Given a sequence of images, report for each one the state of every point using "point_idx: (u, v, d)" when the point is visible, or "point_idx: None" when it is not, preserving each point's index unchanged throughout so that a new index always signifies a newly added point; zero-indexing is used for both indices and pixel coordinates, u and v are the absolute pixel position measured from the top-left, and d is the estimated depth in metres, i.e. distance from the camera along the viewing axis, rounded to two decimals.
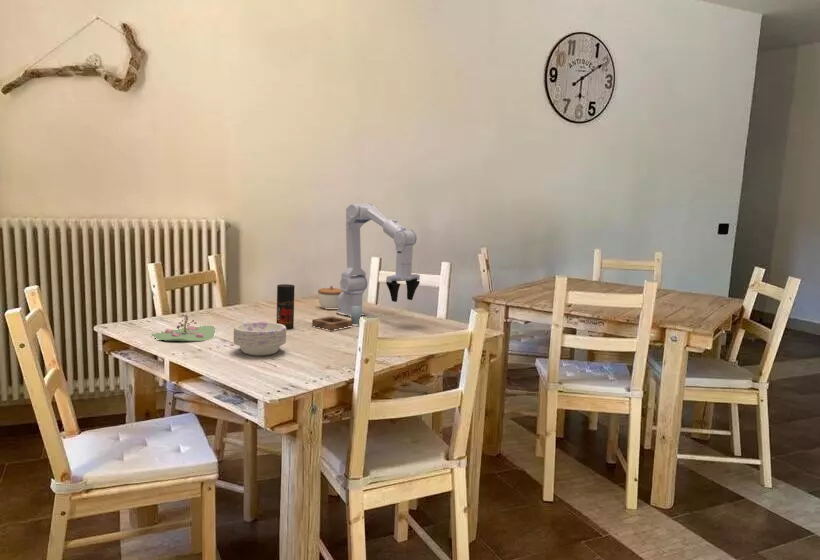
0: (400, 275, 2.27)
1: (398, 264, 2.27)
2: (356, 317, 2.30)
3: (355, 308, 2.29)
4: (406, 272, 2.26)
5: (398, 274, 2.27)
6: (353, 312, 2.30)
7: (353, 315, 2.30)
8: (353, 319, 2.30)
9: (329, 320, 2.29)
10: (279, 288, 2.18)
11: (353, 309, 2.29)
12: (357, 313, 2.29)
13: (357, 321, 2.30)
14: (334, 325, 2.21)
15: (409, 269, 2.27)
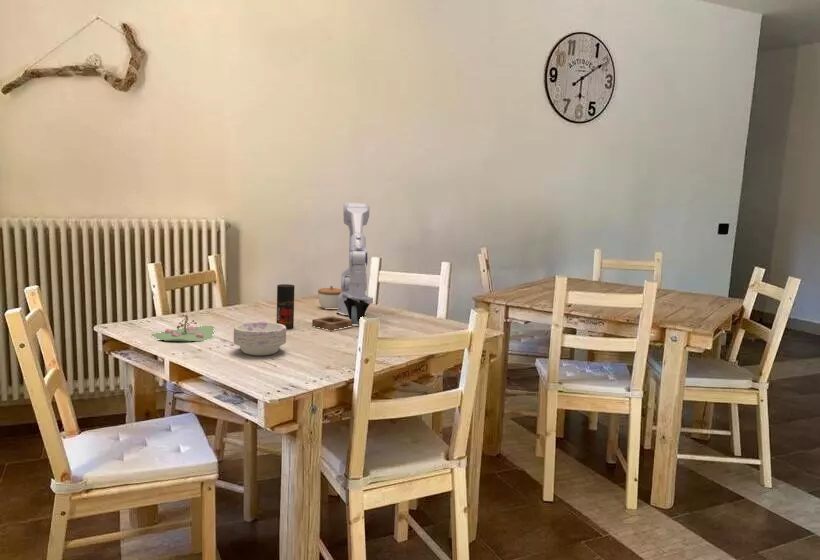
0: None
1: None
2: (356, 317, 2.30)
3: (355, 308, 2.29)
4: (350, 291, 2.28)
5: None
6: (353, 312, 2.30)
7: (353, 315, 2.30)
8: (353, 319, 2.30)
9: (329, 320, 2.29)
10: (279, 288, 2.18)
11: (353, 309, 2.29)
12: None
13: (357, 321, 2.30)
14: (334, 325, 2.21)
15: (352, 289, 2.28)
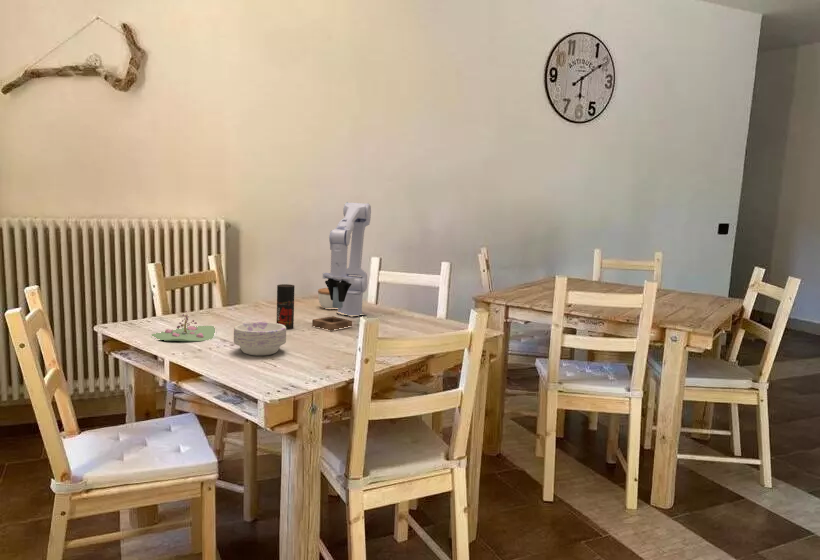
0: None
1: None
2: (338, 299, 2.25)
3: (336, 289, 2.24)
4: (331, 271, 2.23)
5: None
6: (334, 293, 2.25)
7: (334, 296, 2.25)
8: (334, 300, 2.25)
9: (329, 320, 2.29)
10: (279, 288, 2.18)
11: (334, 290, 2.24)
12: None
13: (338, 302, 2.25)
14: (334, 325, 2.21)
15: (333, 268, 2.22)
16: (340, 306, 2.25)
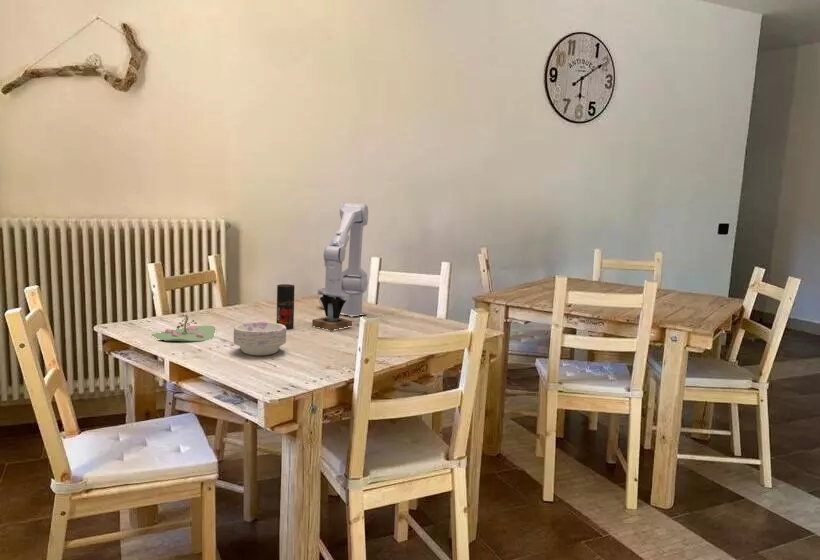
0: None
1: None
2: (332, 315, 2.25)
3: (331, 305, 2.24)
4: (326, 287, 2.23)
5: None
6: (329, 310, 2.25)
7: (329, 313, 2.25)
8: (329, 317, 2.25)
9: None
10: (279, 288, 2.18)
11: (329, 306, 2.24)
12: None
13: (333, 319, 2.25)
14: (334, 325, 2.21)
15: (328, 285, 2.22)
16: None
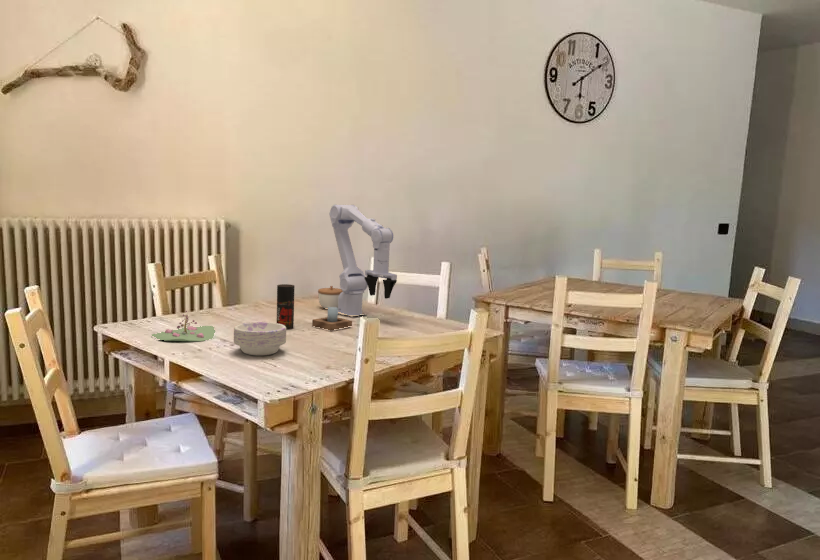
0: None
1: None
2: (332, 319, 2.25)
3: (331, 309, 2.24)
4: (374, 268, 2.34)
5: None
6: (329, 313, 2.25)
7: (329, 317, 2.25)
8: (329, 321, 2.25)
9: None
10: (279, 288, 2.18)
11: (329, 310, 2.25)
12: (333, 315, 2.25)
13: None
14: (334, 325, 2.21)
15: (376, 266, 2.33)
16: None
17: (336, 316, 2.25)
